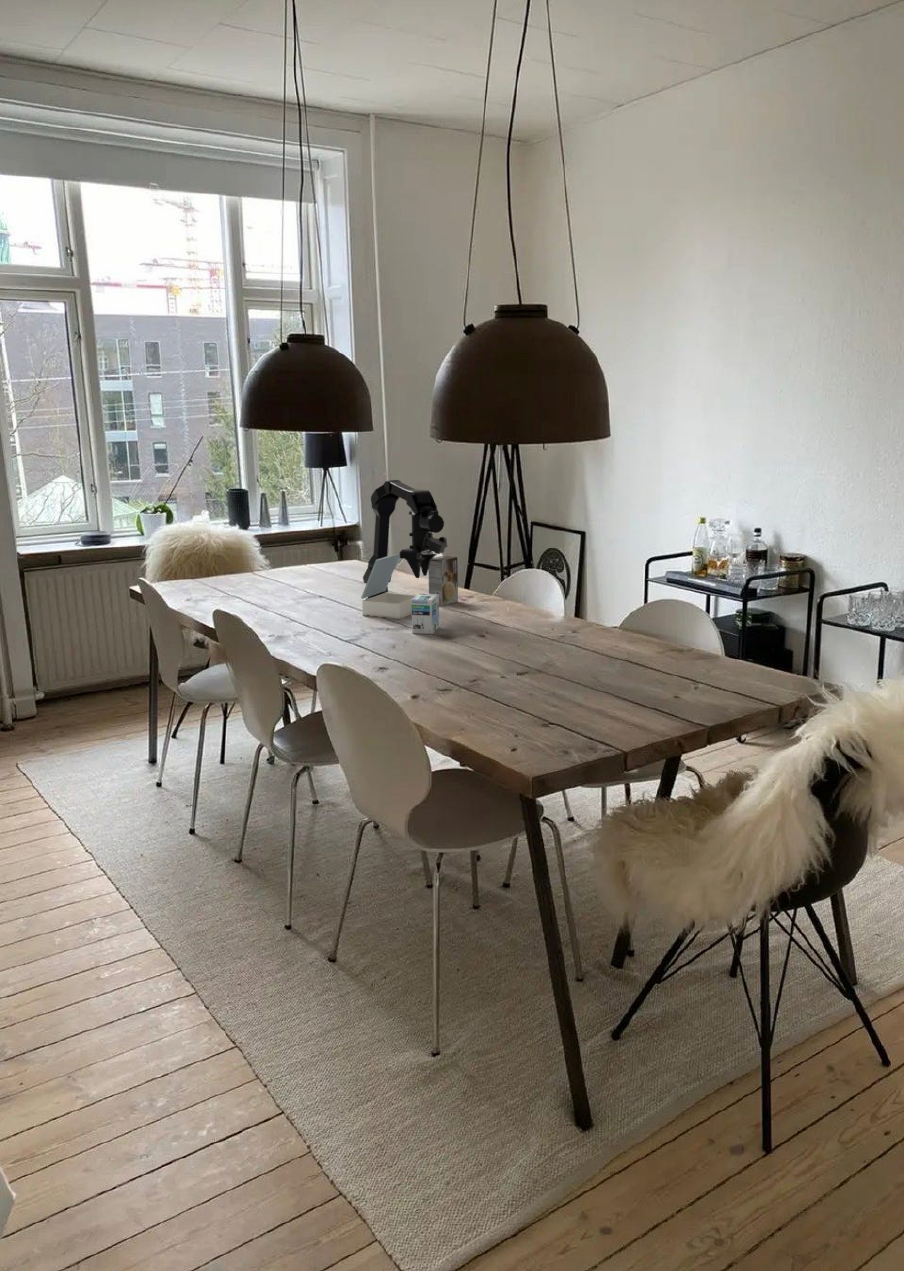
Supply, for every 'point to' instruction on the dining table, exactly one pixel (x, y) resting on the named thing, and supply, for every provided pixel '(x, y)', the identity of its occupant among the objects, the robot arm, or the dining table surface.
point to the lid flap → (380, 575)
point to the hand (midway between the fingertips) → (421, 576)
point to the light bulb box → (425, 613)
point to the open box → (388, 605)
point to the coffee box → (444, 579)
